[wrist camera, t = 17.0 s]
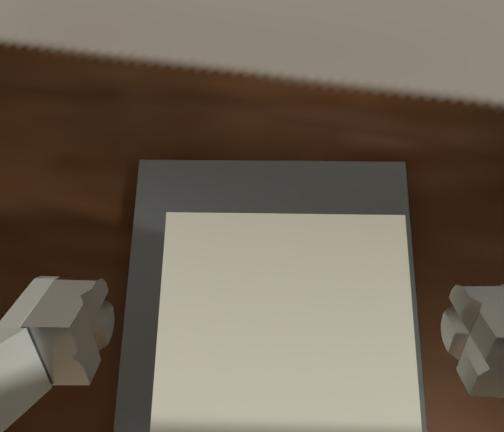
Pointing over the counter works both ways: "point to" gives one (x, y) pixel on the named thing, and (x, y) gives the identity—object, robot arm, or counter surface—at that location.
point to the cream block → (285, 325)
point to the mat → (235, 201)
